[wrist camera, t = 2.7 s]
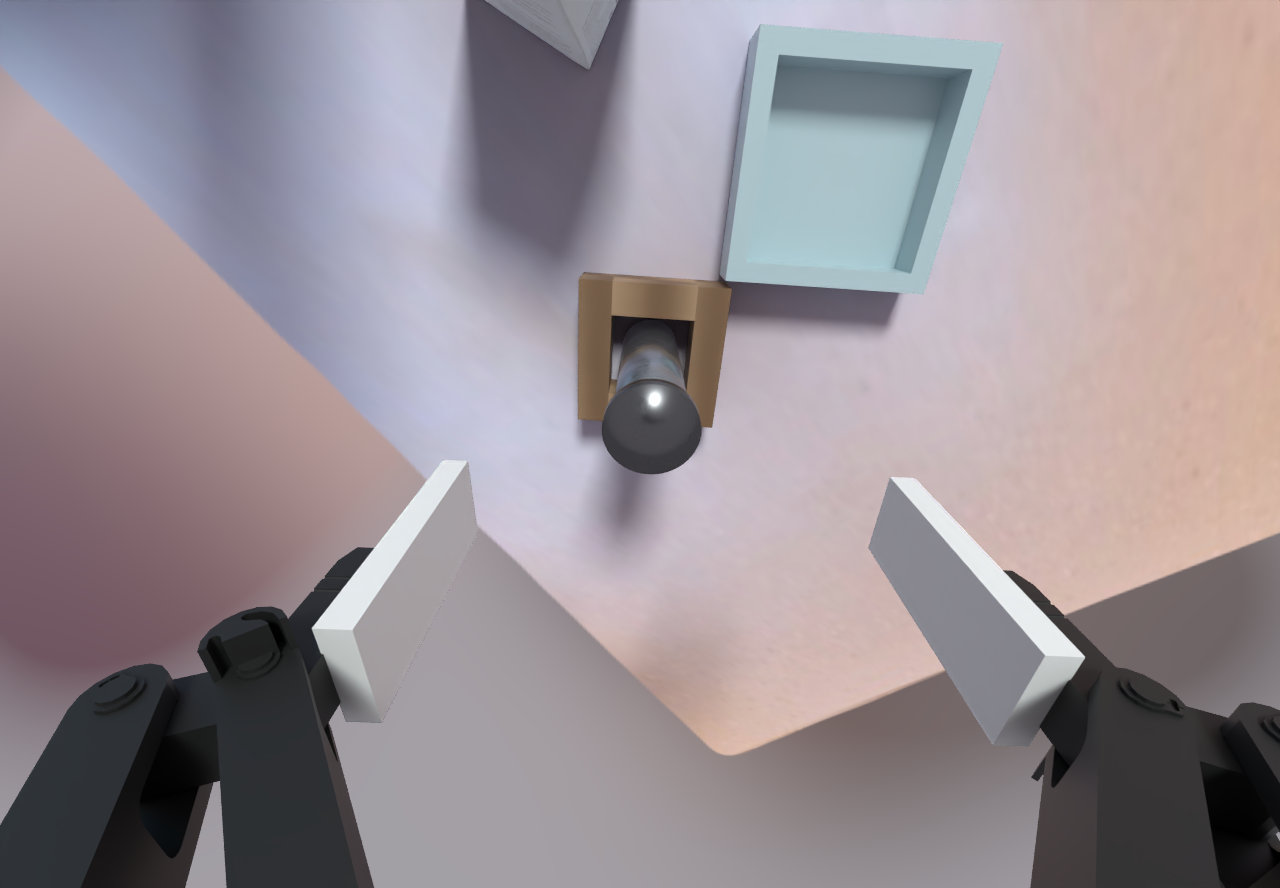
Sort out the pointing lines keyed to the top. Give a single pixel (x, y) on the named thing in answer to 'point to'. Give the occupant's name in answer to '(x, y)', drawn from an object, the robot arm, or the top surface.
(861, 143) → the tray
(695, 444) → the pin
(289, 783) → the robot arm
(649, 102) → the top surface
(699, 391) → the socket block
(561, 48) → the small box
